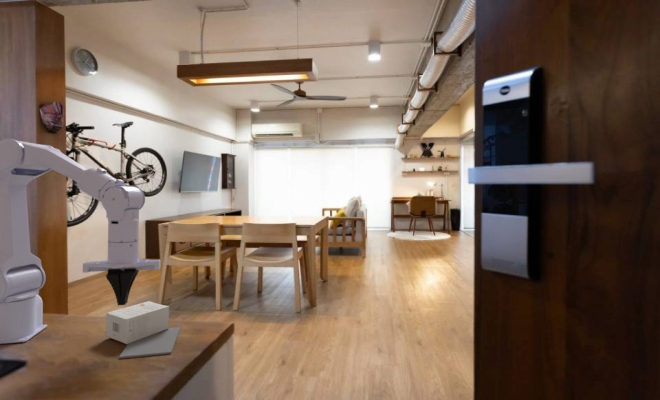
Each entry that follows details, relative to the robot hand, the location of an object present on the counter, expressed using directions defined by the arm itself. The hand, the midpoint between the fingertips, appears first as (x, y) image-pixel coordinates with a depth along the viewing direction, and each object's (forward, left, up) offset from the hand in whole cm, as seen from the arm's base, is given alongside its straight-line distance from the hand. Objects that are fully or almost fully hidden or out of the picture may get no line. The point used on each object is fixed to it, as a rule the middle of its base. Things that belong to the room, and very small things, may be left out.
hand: (122, 303), depth 75 cm
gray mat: (0, +6, -9) cm, 11 cm away
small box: (-2, -2, -6) cm, 6 cm away
